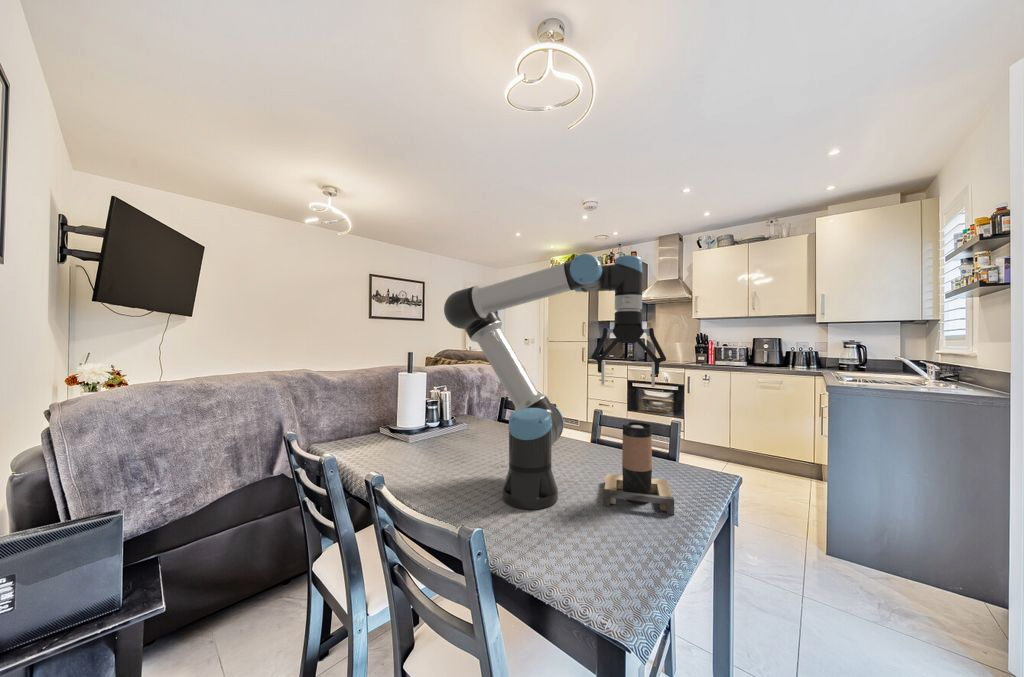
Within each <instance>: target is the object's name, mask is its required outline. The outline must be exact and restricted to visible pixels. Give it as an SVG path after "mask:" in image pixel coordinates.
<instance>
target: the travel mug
mask: <svg viewBox="0 0 1024 677" xmlns="http://www.w3.org/2000/svg"><path fill="white" fill-rule="evenodd" d="M652 438H653V437H652V425H650V424H648V423H645V422H637V421H630V422H628V423H627V424H625V423H622V446H621V447H622V449H621V450H622V453H621V455H622V456H621V458H622V459H621V460H622V461H621V465H622V468H621V469H622V470H621V471H622V475H623V489H622V492H631V493H639V494H648V495H652V492H651V481H652V479H653V478H652V477H653V475H652V474H653V455H652V454H653V447H652V446H653V444H652V442H653V440H652ZM626 501H627V502H629V503H631V504H635V505H636V504H637V505H646V504H649V503H650V502H642V501H634V500H626Z"/></svg>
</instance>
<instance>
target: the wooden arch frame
mask: <svg viewBox="0 0 1024 677" xmlns="http://www.w3.org/2000/svg"><path fill="white" fill-rule="evenodd" d="M617 489H620V490H622V491H619V490H617ZM651 493H655V494H657V495H655V494H651V495H648V494H639V493H631V492H623V474H621V475H620V474H615V473H614V474H612V473H606V477H605V483H604V488H603V494H602V495H603V498H602V499H603V500H602V501H603V507H609V508H610V507H611V505H616V504H617V503H616V502H617V500H625V501H627V500H634V501H642V502H649V503H651V504H659V509H660V511H665V512H666V515H672V516H675V497H674V496H672V492H671V489H670V486H669V481H668V479H661V478H652V481H651Z"/></svg>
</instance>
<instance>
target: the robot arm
mask: <svg viewBox="0 0 1024 677" xmlns="http://www.w3.org/2000/svg"><path fill="white" fill-rule="evenodd" d="M614 260H615V261H614V264H602V263H601V262H600V260H598V258H597V257H596V256H594V255H592V254H589V253H581V254H579V255H577V256H576V257H574V258H573V260H570V261H568V262H564V263H561V264H556V265H554V266H550V267H547V268H545V269H541V270H537V271H534V272H531V273H527V274H524V275H521V276H517V277H514V278H510V279H507V280H504V281H500V282H497V283H493V284H489V285H487V286H486V285H485V286H483V287H480V286H478V285H473V286H471V287H467V288H464V289H459V290H457V291H455V292H452V293H451V294H450V295H448V297H447V299H446V300H445V303H444V306H443V312H444V317H445V319H446V321H447V322H448V323H449V324H450V325H451V326H453V327H454V328H458V329H462V330H464V331H465V332H466V334H467V336H468V337H469V339H470V341H471V342H475V343H477V344H478V346H479V347H480V349H481V350H482V352H483V353H484V356H485V357H486V359H487V361H488V363H489V365H490V366H491V367H492V369H493V372H494V373H495V374H496V376H497V378H498V380H499V382H500V383H501V384H502V386H503V388H504V390H505V392H506V393H507V395H508V397H509V398H510V401H511V402H512V404H513V405H514V411H513V412H512V413H511V414H510V416H509V419H508V420H509V421H508V426H507V427H508V470H507V474H506V478H505V480H504V483H503V487H502V500H503V501H504V503H506V504H507V505H508V506H511V507H514V508H516V509H520V510H521V509H522V510H541V509H546V508H549V507H552V506H554V505H556V503H557V502H558V499H559V491H558V486H557V483H556V480H555V476H554V474H553V470H552V450H553V449H552V448H553V447H552V446H553V445H554V443H555V442H557V441H558V440H559V439H560V437H561V435H562V434H563V430H564V427H565V426H564V425H565V422H564V416H563V414H562V413H561V411H560V409H558V407H556V406H555V405H552V403H551V401H550V400H549V398H548V396H547V395H546V394H544V393H540V392H539V391H538V389H537V388H536V386H535V385H534V382H533V381H532V379H531V378H530V376H529V374H528V373H527V371H526V369H525V367H524V366H523V364H522V362H521V361H520V359H519V357H518V356H517V354H516V352H515V351H514V349H513V348H512V346H511V344H510V342H509V340H508V339H507V338H506V336H505V334H504V332H503V331H502V324H503V322H502V320H501V319H500V317H499V311H503V310H505V309H509V308H513V307H517V306H519V305H524V304H527V303H530V302H533V301H538V300H541V299H545V298H549V297H553V296H556V295H560V294H563V293H567V292H571V291H575V292H577V293H578V292H579V293H588V292H589V293H591V292H592V293H593V292H608V291H609V292H611V291H613V292H614V310H615V312H614V327H613V328H608V327H604V328H603V329H602V336H600V339H599V341H598V343H597V344H596V347H595V349H594V351H593V352H592V354H591V360H594V361H596V362H597V373H599V374H600V373H601V379H600V381H601V385H602V386H603V385H604V386H605V385H606V361H604V359H605V358H606V357H607V356H608V355H609V354H610V352H612V350H613V349H614V348H615V347H616V346H617V345H618V344H619V343H620V344H631V345H635V344H636V343H637V344H638V345H639V346H640V347H641V349H643V351H644V352H645V353H646V354H647V355H648V356H649V357H650V359H652V361H653V362H651V388H655V385H656V384H655V381H656V380H655V379H656V378H655V376H659V374H660V363H663V362H666V361H667V357H666V356H665V353H664V351H663V349H662V347H661V346H660V344H659V341H658V340H657V338H656V336H655V331H654V328H653V327H650V328H643V312H642V311H641V310H642V309H643V259H642V258H641V257H640V256H638V255H633V254H631V255H622V256H618V257H617V256H616V258H615V259H614ZM611 334H613V335H614V337H615V339H614V340H613V341H612V342H611V343H610V344H609V345H608V346H607V348H606V349H605V350H604V351H603V352H602V353H601V354H600V355H599V353H600V351H601V350H602V348H603V346H604V345H605V342H606V340H607V338H608V336H609V337H610V335H611ZM643 334H646V336H648V337H650V338H649V339H650V340H651V342H652V345H653V346H654V348H655V349H656V351H657V352H656V353H658V355H659V357H657V356H656V354H654V353H653V351H652V350H651V349H650V348H649V347H648V346H647V344H646V343H645V342H644V341H643V340H642V339H641V337H642V336H643Z"/></svg>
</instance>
